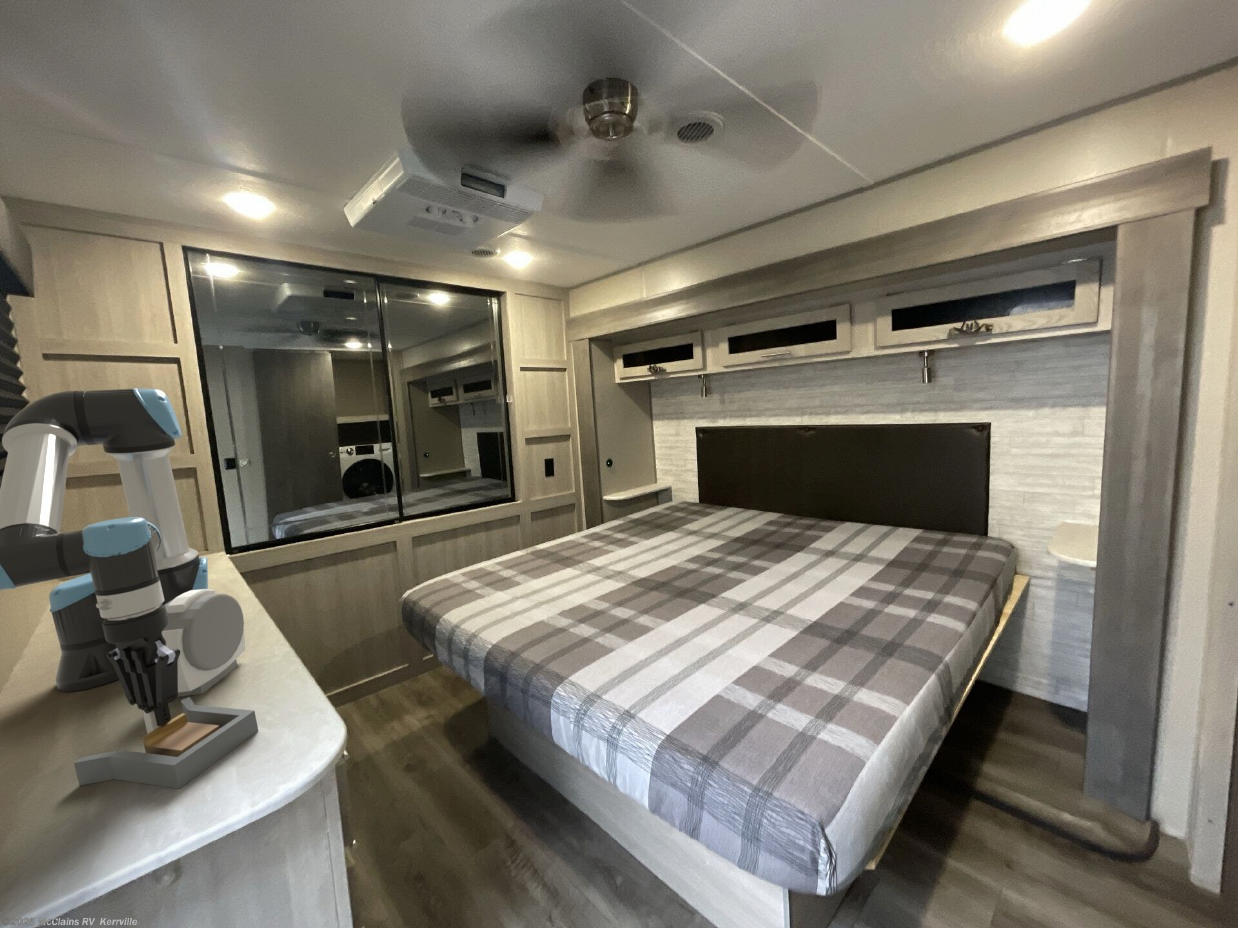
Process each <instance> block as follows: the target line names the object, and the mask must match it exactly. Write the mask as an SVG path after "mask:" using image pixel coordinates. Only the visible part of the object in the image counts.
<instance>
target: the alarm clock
mask: <svg viewBox="0 0 1238 928" xmlns="http://www.w3.org/2000/svg"><path fill="white" fill-rule="evenodd" d="M164 606H165V607H166V612H167V616H168V621H169V623H168V625H167V627H166V628H164V630H163V631H162V635H163V637H164V639H165V641H166V647H167V648H169V649H170V650H171V651H172V650H174V649H176V648H178V649H179V650H180V656H179V658H178V698H179V697H187V696H188V697H189V696H196V695H203V694H204V693H205V692H207V691H209V689H211V688H212V687H214V686H215V684H217V683H218V682H219V681H221V680H222V679H224V678H225V677H226V676H228V674H230V673H231V672H232V671H234V670H235V669H236V668H237V667H238V661H237V659H238V658H239V657H240V656H241V655H242V654H243V653H244V652H245V651H246V639H245V629H244V627H245V620H244V619H245V618H244V614H243V609H242V607H241V604H239V601H238V600H237V599H236V598H235V597H234V596H233V595H229V594H226V593H215V590H214V588H208V589H200V590H190V591H188V592H185V593H183V594H181V595H179V596H178V597H176V598H175V599H173V600H172V601H170V602H169V603H167V604H165V605H164Z"/></svg>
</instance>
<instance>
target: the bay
mask: <svg viewBox="0 0 1238 928" xmlns="http://www.w3.org/2000/svg"><path fill="white" fill-rule="evenodd" d="M180 703H181V708H182V714H186V715H187V720H188V722H191V723H201V724H210V725H219V728H220V729H219V730H217V731H216V732H214V733H213V734H211V735H210V736H208V737H207V738H205V739H204V740H202V741H201V742H199V743H198V744H196V745H195V746H193V747H192V748H190V749H189V750H187V751H186V752H184V753H183V754H181V755H180V756H178V757H173V756H165V755H157V754H149V753H146V752H141V751H131V750H124V749H119V750H115V751H108V752H104V753H97V754H94V755H93V754H91V755H87V756H83V757H79V758H78V759H77V760H76V761H75V762H73V765H74V768H75V772H76V777H77V780H78V784H79V786H85V785H90V784H91V785H92V784H95V783H100V782H106V781H111V780H116V781H117V780H118V781H124V782H131V783H138V784H145V785H150V786H151V785H153V786H160V787H164V788H165V787H166V788H173V789H181V788H182V787H183V786H185V785H186V784H187V783H189V782H190V781H192V780H193V779H194V778H196V777H197V776H198V775H200V774H202V773H203V772H204V771H206V770H207V769H209V767H211V766H213V765H214V764H215V763H216V762H218V761H219V760H221V758H223V757H224V756H227V755H228V754H229V753H230V752H232V751H233V750H234V749H235V748H238V746H240V745H241V744H243V743H244V742H245V741H246V740H248V739H249V738H251V737H252V736H253V735H255V734H256V733H257V732H259V727H258V722H257V717H256V712H255V710H253V709H243V708H233V707H232V708H231V707H221V706H212V705H201V704H195V702H193V700H192V698H191V697H190V696H188V697H185V698H183V699H181V700H180Z"/></svg>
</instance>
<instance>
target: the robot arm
mask: <svg viewBox="0 0 1238 928" xmlns="http://www.w3.org/2000/svg"><path fill="white" fill-rule="evenodd" d="M182 436H183V435H182V430H181V427H180V423H179V421H178V417H177V414H176V412H175V411H174V408H173V406H172V403H171V401H170V399H169V397H168V395H167V394H166V393H165V392H163V391H162V390H160V389H156V388H155V389H154V388H136V387H135V388H122V389H121V388H120V389H119V388H118V389H117V388H116V389H100V390H98V389H96V390H67V391H60V392H55V393H51V394H49V395H46V396H43V397H40V398H39V399H37V400H34V401H33V402H31V403H29V404H28V405H27V406H25V407H23V408H22V409H21V410H20V411H18V413H16V414H15V415H14V416H13V417H12V418H11V419H10V421H9V422H8V423H7V425H6V426H5V429H4V431H3V434H2V438H1V445H2V447H3V448H4V450H5V451H6V452H7V456H6V461H5V465H4V471H3V474H2V479H1V482H0V591H2V590H3V591H4V590H9V589H10V590H11V589H16V588H17V587H23V586H24V587H25V586H28V585H32V584H38V583H42V582H49V581H53V580H54V581H55V580H58V579H62V578H63V579H64V578H68V577H74V576H78V577H75V578H73V579H70V580H67V581H65V582H62V583H61V584H58V585H57V586H55V587H54V588H52V590H50V592H49V595H48V599H49V607H50V609H49V612H50V613H51V616H52V619H53V623H54V627H55V632H56V635H57V639H58V642H59V647H60V651H61V655H60V659H59V663H58V668H57V671H56V674H55V675H56V676H55V684H56V688H57V690H58V691H60V690H61V691H60V692H65V693H66V692H69V693H70V692H77V691H84V690H88V689H92V688H96V687H100V686H103V685H106V684H109V683H111V682H114V681H115V682H116V681H117V680H119V683H120V684H121V687H122V689H123V692H124V695H125V696H126V699H127V702H128V704H129V705H130V706H134V705H137V708H138V709H139V710H141V712H142V716H143V720H144V725H145V730H146V733H147V734H148V733H150V732H152V731H153V730H155V729H157V728H158V727H160V726H163V725H164V724H166V723H168V722H169V721H171V720H172V716H171V715H172V714H171V712H170V706H169V704H170V703H172V702H173V701H175V700H177V699H178V698H179V697H178V658H179V656H180V650H179V649H178V648H176V649H174V650H172V651H171V650H170V649H169V648H167V647H166V641H165V639H164V637H163V635H162V631H163V630H164V628H166V627H167V625H168V623H169V621H168V616H167V612H166V607H165V606H164V605H165V604H167V603H169V602H170V601H172V600H173V599H175V598H176V597H178V596H179V595H181V594H183V593H185V592H188V591H190V590H200V589H209V567H208V564H209V563H208V558H207V557H204V556H201V557H200V556H199V555H200V554H199V551H198V550H196V549H194V548H192V547H190V546H189V544H188V543H189V542H188V539H187V538H188V537H187V533H186V529H185V524H184V520H183V515H182V510H181V506H180V501H179V497H178V492H177V487H176V483H175V477H174V474H173V470H172V464H171V459H170V452H171V451H173V450H174V448H175V447H176V441H175V440H178V439H181V437H182ZM95 445H96V446H97V445H102V447H103V450H104V454H106V455H108V456H110V457H112V458H114V459H115V460H116V463H117V467H118V471H119V475H120V479H121V484H122V488H123V491H124V495H125V500H126V504H127V510H128V513H129V516H127V517H121V518H114V519H107V520H104V521H103V520H102V521H99V522H96V523H91V524H89V525H87V526H85V527H84V528H83V529H80V530H74V531H68V532H66V531H64V532H61V528H62V519H63V510H64V502H65V492H66V486H67V485H66V483H67V476H68V466H69V459H70V458H69V457H71V456H73V454H75V452H76V451H77V449H78V447H81V446H82V447H83V446H95ZM147 734H146V735H147Z"/></svg>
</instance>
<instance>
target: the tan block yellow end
mask: <svg viewBox="0 0 1238 928" xmlns="http://www.w3.org/2000/svg"><path fill="white" fill-rule="evenodd" d="M219 729H220V728H219V725H210V724H201V723H191V722H188V720H187V715H186V714H184V713H180V714H178V715H176V716H175V717H174V718H171V721H169V722H168V723H166V724H164V725H163V726H160V727H158V728H157V729H155V730H153V731H152V732H150V733H148V734H145V735H143V736H142V742H143V747H144V751H145V753H149V754H157V755H165V756H173V757H178V756H180V755H181V754H183V753H184V752H186V751H187V750H189V749H190V748H192V747H193V746H195V745H196V744H198V743H199V742H201V741H202V740H204V739H205V738H207V737H208V736H210V735H211V734H213V733H214V732H216V731H217V730H219Z"/></svg>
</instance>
